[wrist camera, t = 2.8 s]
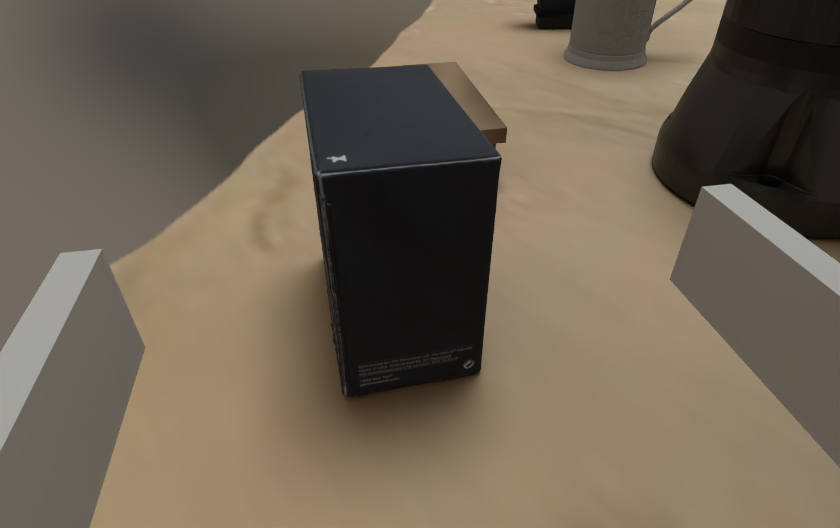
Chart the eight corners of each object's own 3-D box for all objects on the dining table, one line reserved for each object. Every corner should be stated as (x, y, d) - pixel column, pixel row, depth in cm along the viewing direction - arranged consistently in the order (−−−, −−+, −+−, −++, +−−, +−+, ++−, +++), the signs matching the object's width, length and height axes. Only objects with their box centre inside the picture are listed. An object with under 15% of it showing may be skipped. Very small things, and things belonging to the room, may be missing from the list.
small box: (492, 375, 23) (514, 153, 17) (342, 404, 22) (306, 178, 16) (432, 240, 32) (433, 56, 25) (321, 256, 30) (292, 68, 24)
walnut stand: (454, 107, 48) (455, 61, 45) (502, 183, 37) (507, 127, 34) (341, 117, 46) (336, 70, 44) (355, 198, 35) (350, 142, 33)
